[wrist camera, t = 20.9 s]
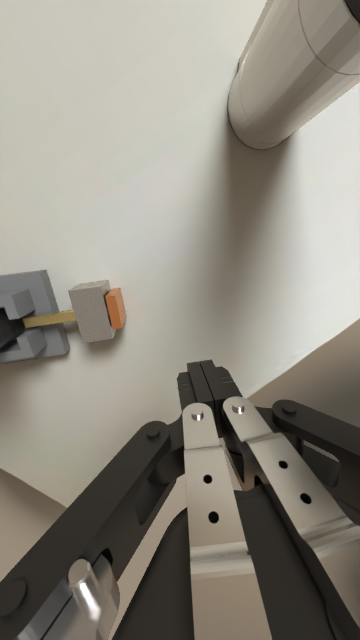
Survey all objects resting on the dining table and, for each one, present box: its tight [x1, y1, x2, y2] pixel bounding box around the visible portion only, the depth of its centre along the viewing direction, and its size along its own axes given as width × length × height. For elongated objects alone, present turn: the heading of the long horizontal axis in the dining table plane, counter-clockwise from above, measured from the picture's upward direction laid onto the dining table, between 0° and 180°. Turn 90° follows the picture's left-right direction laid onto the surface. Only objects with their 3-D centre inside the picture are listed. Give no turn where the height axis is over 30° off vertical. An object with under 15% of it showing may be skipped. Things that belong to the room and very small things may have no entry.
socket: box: [0, 270, 70, 364], centre depth 30 cm, size 12×12×6 cm
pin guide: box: [68, 280, 117, 343], centre depth 31 cm, size 7×4×5 cm, turn 7°
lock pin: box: [23, 288, 126, 329], centre depth 31 cm, size 12×4×5 cm, turn 97°
